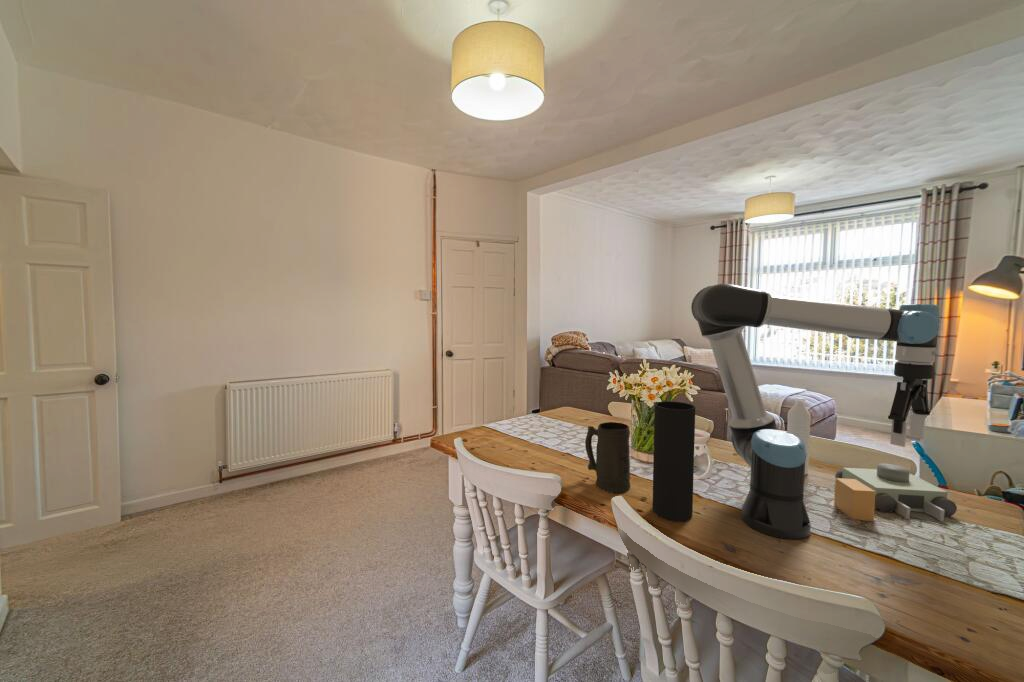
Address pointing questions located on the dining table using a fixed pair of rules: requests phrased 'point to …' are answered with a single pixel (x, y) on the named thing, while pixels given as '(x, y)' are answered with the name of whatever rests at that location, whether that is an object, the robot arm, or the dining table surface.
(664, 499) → the vase
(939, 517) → the mower deck
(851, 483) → the orange block
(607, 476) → the beer stein
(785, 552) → the dining table surface
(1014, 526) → the dining table surface
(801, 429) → the water bottle
